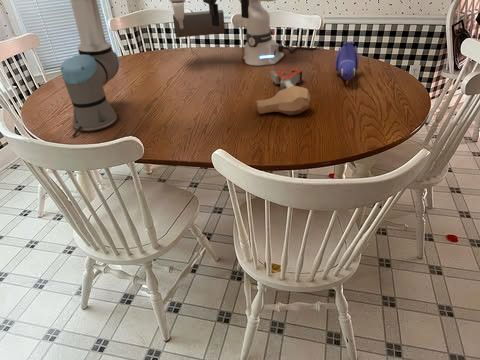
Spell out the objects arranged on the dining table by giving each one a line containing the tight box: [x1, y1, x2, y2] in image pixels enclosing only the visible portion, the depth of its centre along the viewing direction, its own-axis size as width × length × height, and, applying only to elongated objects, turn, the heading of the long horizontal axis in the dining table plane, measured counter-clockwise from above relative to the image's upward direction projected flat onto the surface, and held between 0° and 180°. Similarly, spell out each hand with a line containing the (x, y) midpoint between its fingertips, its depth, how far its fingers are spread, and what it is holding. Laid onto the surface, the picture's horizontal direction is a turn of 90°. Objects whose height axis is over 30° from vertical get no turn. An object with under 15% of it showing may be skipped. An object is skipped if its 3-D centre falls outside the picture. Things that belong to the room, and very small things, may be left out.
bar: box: [172, 9, 226, 38], centre depth 170 cm, size 24×6×10 cm, turn 97°
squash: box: [255, 85, 312, 116], centre depth 130 cm, size 11×20×9 cm, turn 92°
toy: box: [334, 40, 360, 86], centre depth 151 cm, size 10×17×25 cm
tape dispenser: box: [270, 67, 303, 90], centre depth 150 cm, size 18×5×20 cm
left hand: (230, 21), depth 120 cm, fingers open, 13 cm apart
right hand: (181, 26), depth 170 cm, fingers closed on bar, 5 cm apart
